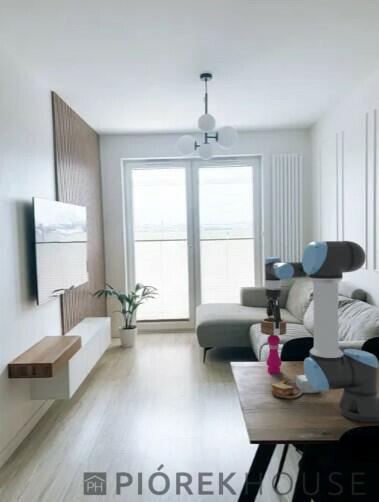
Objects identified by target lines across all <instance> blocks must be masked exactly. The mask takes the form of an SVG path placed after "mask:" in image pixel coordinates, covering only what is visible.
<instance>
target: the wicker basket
mask: <svg viewBox="0 0 379 502" xmlns="http://www.w3.org/2000/svg"><path fill="white" fill-rule="evenodd" d="M273 320H274V317H273V318H267V317H266V318H265V317H264V318H261V319H260V332H261V334H263V335H267V336H270V335H274V322H273ZM286 334H287V320H286V319H284V318H281V321H280V335H279V336H283V335H286Z"/></svg>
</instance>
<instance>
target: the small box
mask: <svg viewBox="0 0 379 502" xmlns="http://www.w3.org/2000/svg"><path fill="white" fill-rule="evenodd" d="M295 383H296V385H295V386H296V387H298V388H299V389H300V390H301V392H302V394H303V393H304V394H305V393H306V394H307V393H319V392H320V390H316V389H314V388H313V387H312V386H311V385H310V384H309V382H308V380H307V378H306V376H305V374H297V375H296V377H295Z"/></svg>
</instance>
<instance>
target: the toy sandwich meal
mask: <svg viewBox="0 0 379 502" xmlns="http://www.w3.org/2000/svg"><path fill="white" fill-rule="evenodd" d="M287 380H288V379H284V380H282V381H280V382H277V383H271V387H272V388H271V390H270V391H271V393H272V394H273V395H275V396H276V397H279V398H283V399H296V398H298V397H300V396H301V395H302V394H303V393H302V392H301V390H300V389H299V388H298V387H297V386H296V385H295V384H289V385H288V384H287V382H288V381H287Z"/></svg>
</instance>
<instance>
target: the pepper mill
mask: <svg viewBox="0 0 379 502" xmlns="http://www.w3.org/2000/svg"><path fill="white" fill-rule="evenodd" d="M280 342H281V339H280V337H279V335H268V336H267V344H268V349H269V352H268V356H267V358H266V366H268V367H267V372H268V373H270V374H271V375H272V374H273V375H278V374H280V373H281V367H282V360H281V357H280V354H279V348H280V345H279V344H280Z"/></svg>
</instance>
